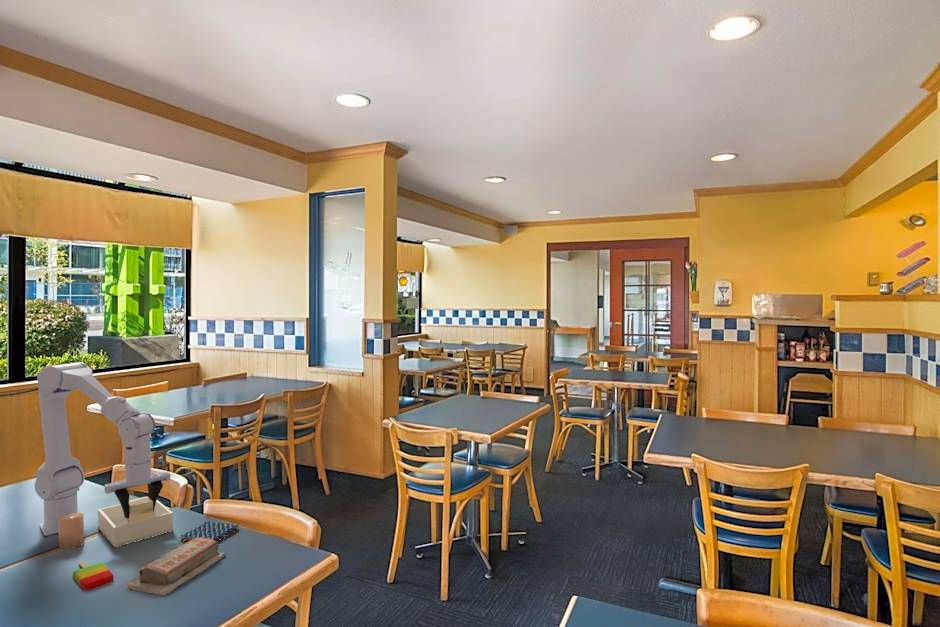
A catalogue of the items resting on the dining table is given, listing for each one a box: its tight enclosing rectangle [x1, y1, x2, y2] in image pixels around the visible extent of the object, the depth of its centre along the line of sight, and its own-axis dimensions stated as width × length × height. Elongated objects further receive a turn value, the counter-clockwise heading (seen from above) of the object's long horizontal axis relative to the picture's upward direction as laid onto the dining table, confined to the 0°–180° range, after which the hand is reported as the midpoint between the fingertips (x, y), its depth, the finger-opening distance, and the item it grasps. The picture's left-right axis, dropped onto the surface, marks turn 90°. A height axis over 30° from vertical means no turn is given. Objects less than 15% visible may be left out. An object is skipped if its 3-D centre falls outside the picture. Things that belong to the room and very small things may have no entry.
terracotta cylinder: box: [58, 512, 85, 550], centre depth 135 cm, size 5×5×7 cm
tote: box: [97, 499, 174, 548], centre depth 143 cm, size 17×13×5 cm
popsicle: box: [72, 560, 114, 591], centre depth 120 cm, size 6×15×2 cm, turn 48°
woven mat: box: [179, 521, 240, 544], centre depth 140 cm, size 10×11×2 cm
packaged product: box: [126, 537, 227, 596], centre depth 121 cm, size 18×5×10 cm
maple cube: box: [126, 495, 153, 523], centre depth 140 cm, size 5×5×5 cm
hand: (139, 514), depth 141 cm, fingers closed on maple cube, 5 cm apart
